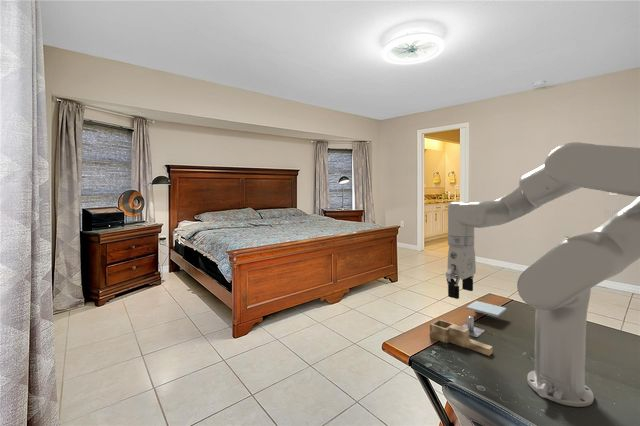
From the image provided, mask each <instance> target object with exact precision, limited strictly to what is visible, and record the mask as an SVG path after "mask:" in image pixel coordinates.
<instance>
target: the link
mask: <svg viewBox="0 0 640 426" xmlns="http://www.w3.org/2000/svg"><path fill="white" fill-rule="evenodd" d="M429 338H431V339H434V340H437V341H440V342H442V343H444V344H448V343H452V344H453V345H456V346H460V347H462V348H467V349H468V350H469V349H470V350H472V351H475V352H477V353H480V354H483V355H486V356H488V357H490V356H491V355H492V354H493V346H492V345H489V344H486V343H483V342H480V341H477V340H474V339H471V338H470V335H469V329H468V328H465V327H461V325H458V324H455V323H453V322H450V321H448V320H447V321H446V320H443V319H440V318H437V319H436V320H434V321H432V322H431V323H430V324H429Z"/></svg>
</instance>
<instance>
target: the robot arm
mask: <svg viewBox="0 0 640 426" xmlns="http://www.w3.org/2000/svg"><path fill="white" fill-rule="evenodd" d="M544 160H545V161H544V163H543V164H541V165H540V166H539V167H537V168H534V169H533V170H531V171H529V172H527V173H525V174H524V175H522V176H521V177H520V179H519V182H518V186H517V188H515V189H514V190H512V191H511V192H509V193H507V194H505V195H503V196H502V197H500V198H498V199H495V200H484V201H475V202H472V201H471V202H470V201H452V202H450V203H449V204H448V205H447V246H448V253H447V271H446V273H445V278H446V284H447V296H448V297H449V298H452V299H456V300H458V299H460V286H459V282H460V280H462V284H461V285H462V290H463V291H469V292H473V290H474V276H475V274H476V270H477V267H476V253H475V228H476V229H484V228H489V227H495V226H497V227H498V226H501V225H505V224H507V223H510V222H512V221H515V220H517V219H519V218H521V217H523V216H525V215H527V214H530V213H532V212H533V211H534V210H537V209H539V208H540V207H542V206H543V205H546V204H547V203H549V202H552V201H555V200H556V199H558V198H561V197H563V196H565V195H568V194H570V193H572V192H575V191H577V190H579V189H581V188H584V189H588V190H596V191H601V192H606V193H611V194H612V193H613V194H616V195H624V196H628V197H636V198H635V199H634V200H633V201H632V202H631V203H629V204H628V205H626V206H625V207H623V208H621V209H620V210H618V211H617V212H616V213H615V214H613V215H612V216H611V217H610V218H609V219H607V220H606V221H605V222H603V223H602V224H601V225H599V226H598V227H596V228H594V229H592V230H591V231H589V232H586V233H583V234H579V235H574V236H571V237H569V238H568V237H567V239H564V240H563V241H561V242H559V243H557V244H556V245H555V246H554V247H553V248H551V249H550V250H548V251H547V252H546V253H545V254H543V256H541V257H540V258H538V259H537V260H536V261H534V262H533V263H532V264H531V265H530V266H528V267H527V268H526V269H525V270H523V272H521V274H520V275H519V276H518V279H517V282H516V288H517V292H518V295H519V297H520V298H521V299H522V301H523V302H524V303H525V304H527V305H528V306H529V307H532V308H534V309H535V317H534V318H535V319H534V370H531V371H529V372H528V373H527V377H526V381H527V384H528V385H529V387H530V388H531V389H532V390H533V391H534V392H536V393H537V394H538V395H539V397H541V398H544V399H548V400H550V401H552V402H555V403H557V404H561V405H563V406H564V405H565V406H569V407H578V408H581V407H588V406H590V405H592V404H593V403H594V398H595V397H594V393H593V391H592V390H591V388H590V387H589V386H588V385H586V347H587V346H586V343H587V342H586V340H587V339H586V336H587V319H588V318H587V317H588V310H589V309H588V308H589V302H590V298H591V291H592V288H594V287H595V286H597V285H598V284H601V283H602V282H604V281H606V280H608V279H610V278H612V277H615V276H616V275H618V274H621V273H622V272H623V271H625V270H626V269H627V268H629V266H631V265H632V264H633V263H635V262H637V261H638V260H640V147H636V146H635V147H633V146H620V145H619V146H618V145H605V144H604V145H603V144H595V143H594V144H593V143H587V142H573V141H572V142H567V143H563V144H561V145H559V146H557V147H555V148H554V149H553V150H551V152H550V153H549V154H548V155H547V157H546V158H545V159H544Z"/></svg>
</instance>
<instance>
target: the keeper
mask: <svg viewBox="0 0 640 426" xmlns="http://www.w3.org/2000/svg"><path fill="white" fill-rule="evenodd" d="M465 307H466V309H467V310H470V311H473V312H474V311H475V312H474V313H478V314H486V315H489V316H493V317H497V318H498V317H499V316H500V315H502V314H503V313H504V312H506V310H507V307H504V306H499V305H495V304H491V303H487V302H482V301H479V300H475V301H473V302H471V303H470V304H468V305H467V306H465Z"/></svg>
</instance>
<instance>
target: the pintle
mask: <svg viewBox="0 0 640 426" xmlns="http://www.w3.org/2000/svg"><path fill="white" fill-rule="evenodd" d="M474 318H475V317H474V316H472V315H467V317H466V320H467V321H466V322H467V324H466V323H464V324H463V325H462V326H461V325H460V326H461V327H465V328H468V329H469V337H473V338H478V337H479V336H481V335H482V334H483V333H485V332H486V329H482V328H479V327H475V326H474V324H475V319H474Z"/></svg>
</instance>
